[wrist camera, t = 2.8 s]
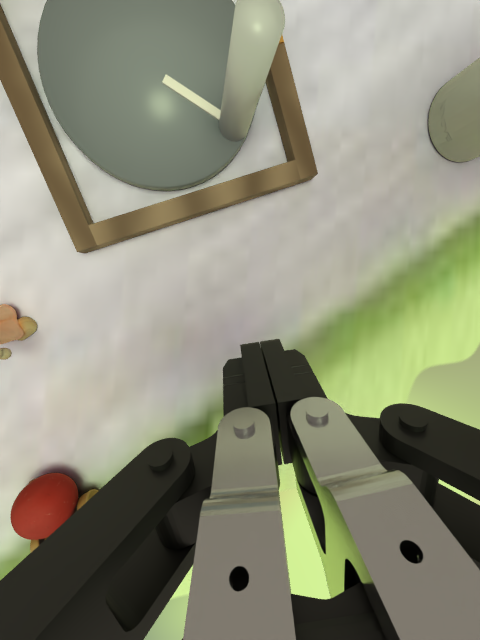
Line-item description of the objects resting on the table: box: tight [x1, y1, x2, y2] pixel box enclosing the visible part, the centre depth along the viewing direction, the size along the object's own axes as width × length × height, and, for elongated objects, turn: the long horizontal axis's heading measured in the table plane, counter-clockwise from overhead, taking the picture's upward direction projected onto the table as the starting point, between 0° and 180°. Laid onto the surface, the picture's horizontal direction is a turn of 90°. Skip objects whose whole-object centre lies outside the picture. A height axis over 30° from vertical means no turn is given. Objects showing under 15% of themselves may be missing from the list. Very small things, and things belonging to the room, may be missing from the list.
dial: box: [37, 0, 285, 191], centre depth 21 cm, size 20×20×14 cm
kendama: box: [11, 473, 99, 552], centre depth 32 cm, size 8×6×18 cm
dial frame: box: [0, 5, 318, 253], centre depth 27 cm, size 26×26×2 cm
